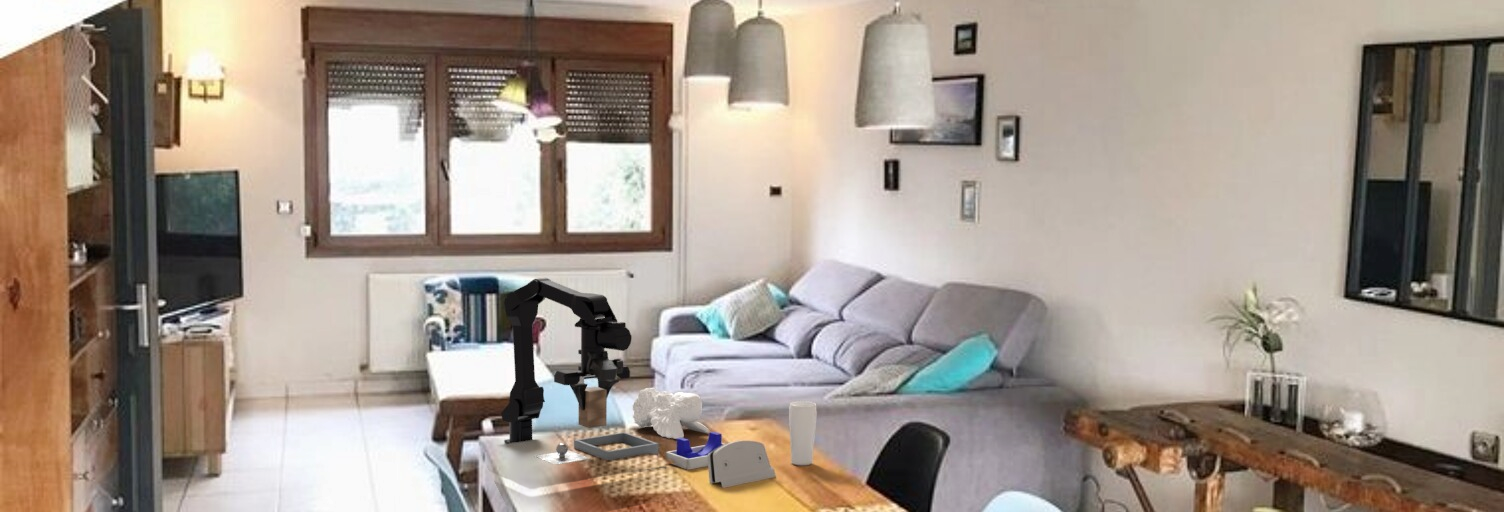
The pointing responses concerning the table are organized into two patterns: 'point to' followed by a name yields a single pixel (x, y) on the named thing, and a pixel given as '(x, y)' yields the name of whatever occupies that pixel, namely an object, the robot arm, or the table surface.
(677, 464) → the clip organiser
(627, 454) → the tray
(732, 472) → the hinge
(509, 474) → the table surface
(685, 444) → the cable clip
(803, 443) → the drinking glass
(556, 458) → the stud plate
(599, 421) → the wooden block
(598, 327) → the robot arm
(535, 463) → the table surface
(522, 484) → the table surface
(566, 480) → the table surface
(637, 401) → the cherub figurine
